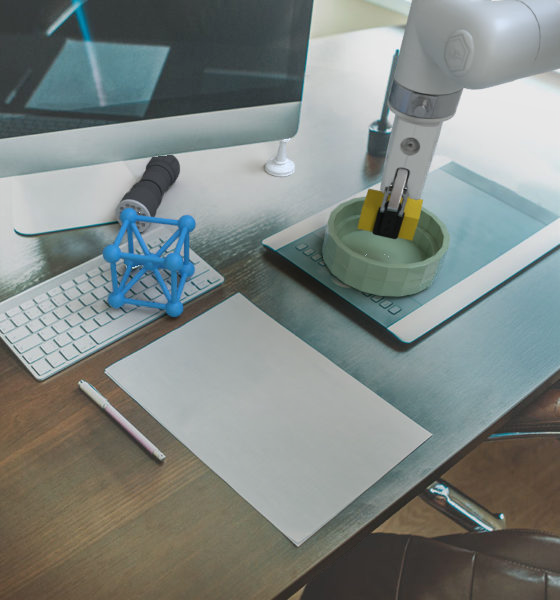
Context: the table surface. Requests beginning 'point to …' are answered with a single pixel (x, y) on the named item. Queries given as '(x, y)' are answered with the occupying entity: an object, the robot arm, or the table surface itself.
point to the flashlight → (150, 189)
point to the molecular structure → (151, 261)
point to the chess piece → (280, 162)
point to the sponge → (375, 201)
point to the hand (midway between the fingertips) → (388, 222)
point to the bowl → (375, 265)
